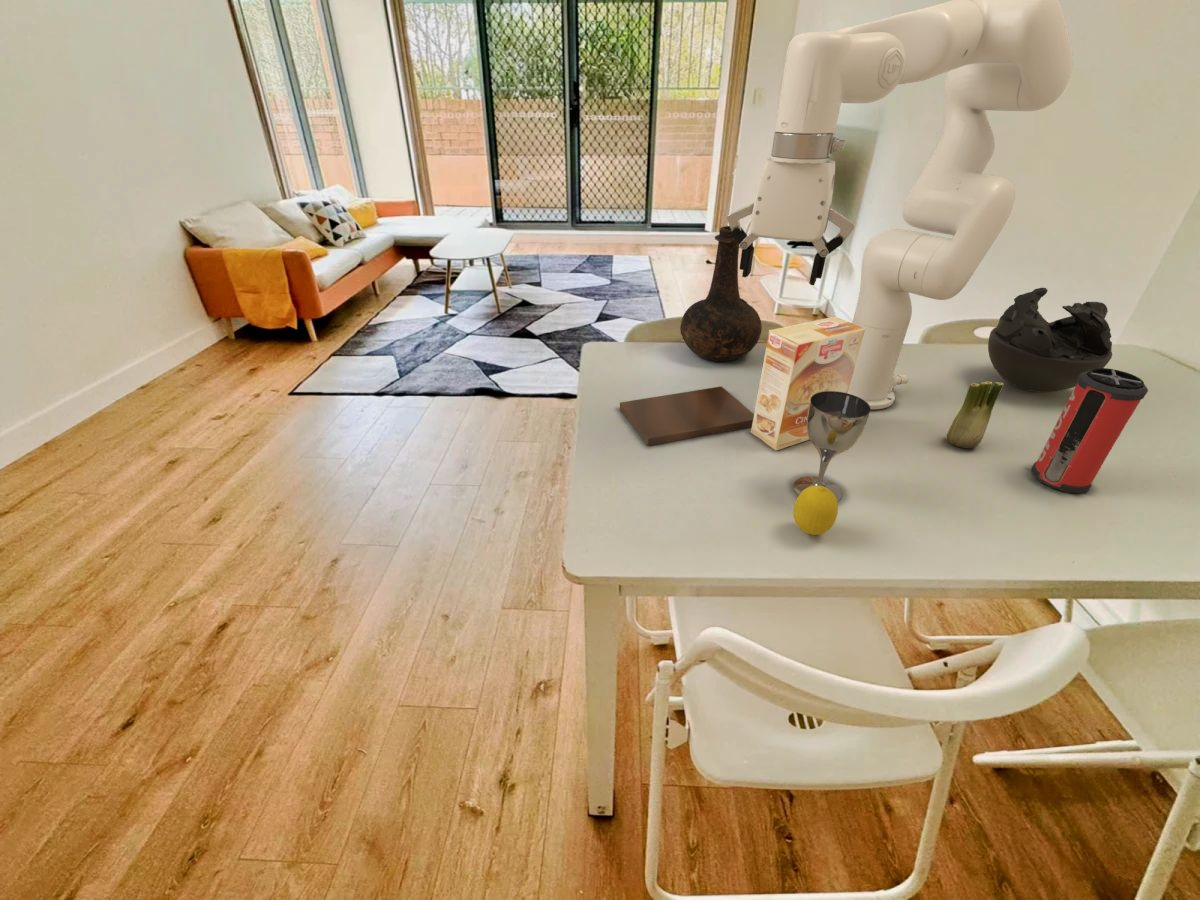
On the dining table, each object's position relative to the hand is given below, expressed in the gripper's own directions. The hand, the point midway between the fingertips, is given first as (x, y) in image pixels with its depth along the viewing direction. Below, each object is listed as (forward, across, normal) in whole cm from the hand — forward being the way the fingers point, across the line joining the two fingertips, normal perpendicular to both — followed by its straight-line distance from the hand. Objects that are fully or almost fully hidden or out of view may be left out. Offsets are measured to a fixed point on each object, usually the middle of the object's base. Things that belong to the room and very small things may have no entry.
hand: (778, 278), depth 83 cm
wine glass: (+28, -12, +10) cm, 33 cm away
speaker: (+28, -47, -8) cm, 56 cm away
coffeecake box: (+28, -7, -6) cm, 30 cm away
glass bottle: (+28, +15, -35) cm, 48 cm away
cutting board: (+28, +13, -3) cm, 31 cm away
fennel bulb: (+28, -34, -13) cm, 46 cm away
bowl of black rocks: (+28, -49, -45) cm, 72 cm away
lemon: (+28, -12, +21) cm, 38 cm away
